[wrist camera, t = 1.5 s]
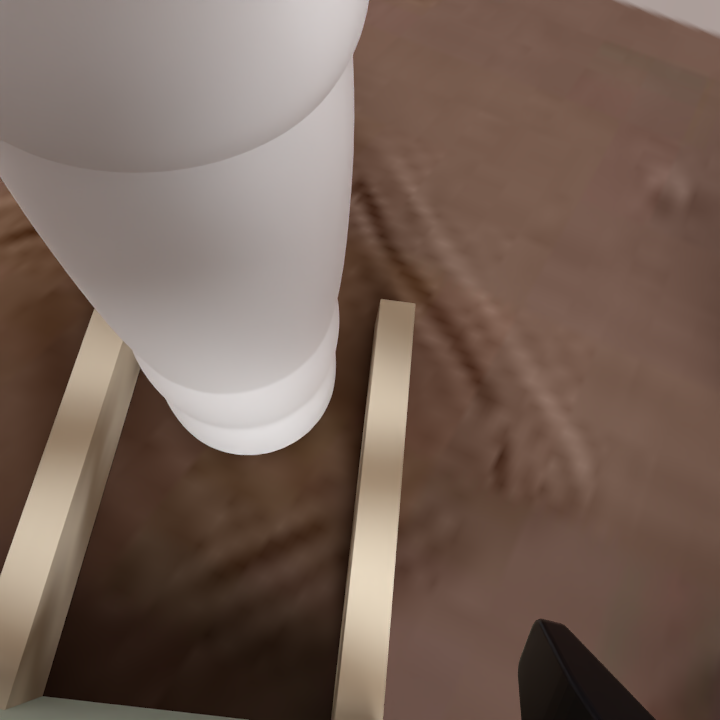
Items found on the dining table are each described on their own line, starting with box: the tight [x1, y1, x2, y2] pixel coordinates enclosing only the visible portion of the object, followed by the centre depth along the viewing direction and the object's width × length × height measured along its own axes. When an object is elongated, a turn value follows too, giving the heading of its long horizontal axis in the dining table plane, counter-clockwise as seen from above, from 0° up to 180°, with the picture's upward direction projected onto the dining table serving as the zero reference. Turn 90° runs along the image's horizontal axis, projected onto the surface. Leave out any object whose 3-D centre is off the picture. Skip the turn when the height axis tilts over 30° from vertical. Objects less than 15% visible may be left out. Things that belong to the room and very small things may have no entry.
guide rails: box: [0, 299, 415, 720], centre depth 21 cm, size 16×13×2 cm
